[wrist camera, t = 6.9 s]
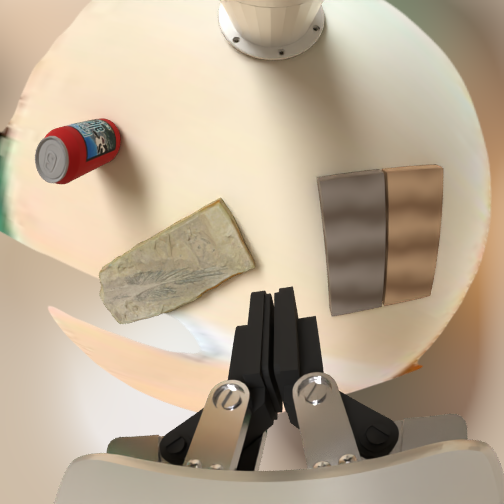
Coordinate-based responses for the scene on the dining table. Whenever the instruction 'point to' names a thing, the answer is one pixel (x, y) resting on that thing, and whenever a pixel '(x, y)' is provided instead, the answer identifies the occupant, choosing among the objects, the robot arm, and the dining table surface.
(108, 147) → the beverage can
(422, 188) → the walnut board
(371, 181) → the smoked oak plank
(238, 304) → the dining table surface
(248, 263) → the stone slab
